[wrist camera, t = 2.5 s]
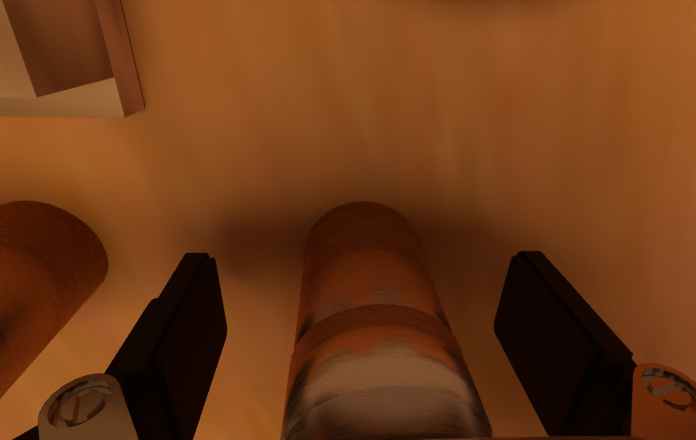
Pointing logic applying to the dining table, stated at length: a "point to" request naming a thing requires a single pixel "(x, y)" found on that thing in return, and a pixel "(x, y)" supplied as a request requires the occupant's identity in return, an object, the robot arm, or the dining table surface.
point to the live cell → (41, 279)
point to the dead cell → (375, 339)
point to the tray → (66, 60)
